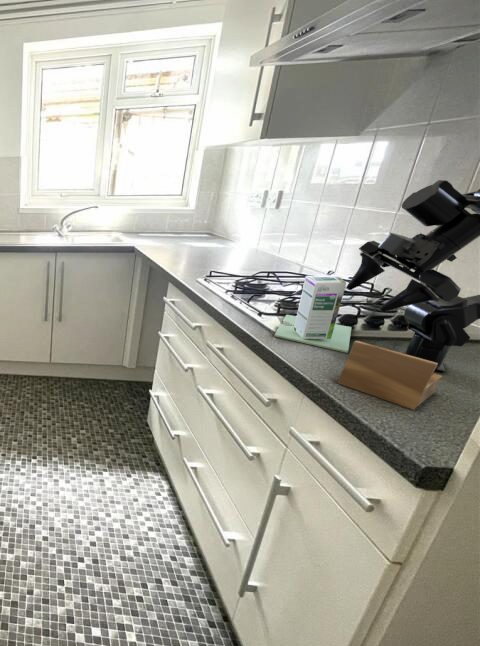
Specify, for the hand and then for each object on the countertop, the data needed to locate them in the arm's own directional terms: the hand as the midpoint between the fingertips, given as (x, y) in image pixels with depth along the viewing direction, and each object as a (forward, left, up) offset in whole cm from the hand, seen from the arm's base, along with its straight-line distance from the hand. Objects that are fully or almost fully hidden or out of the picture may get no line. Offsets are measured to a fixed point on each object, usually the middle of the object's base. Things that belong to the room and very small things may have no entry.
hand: (363, 299), depth 89 cm
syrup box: (-7, -6, -12) cm, 15 cm away
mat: (-12, -6, -13) cm, 19 cm away
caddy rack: (+14, +7, -13) cm, 21 cm away
